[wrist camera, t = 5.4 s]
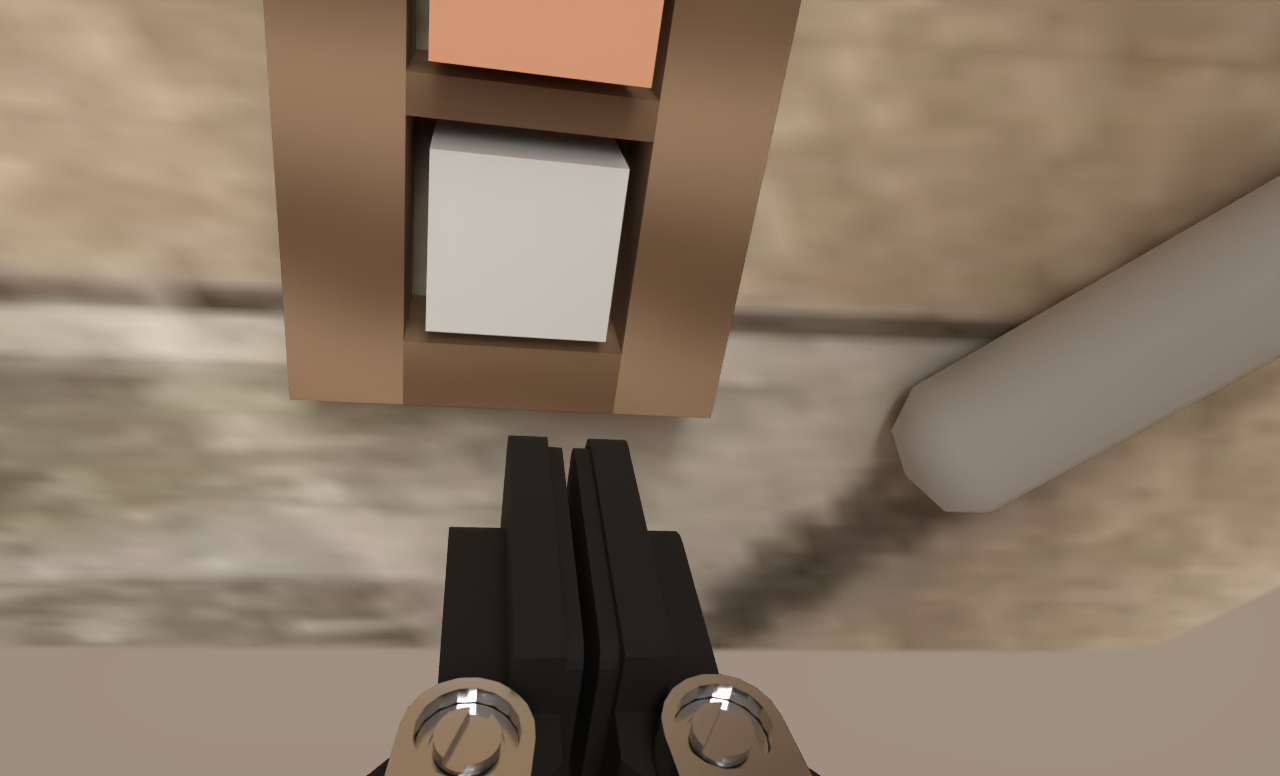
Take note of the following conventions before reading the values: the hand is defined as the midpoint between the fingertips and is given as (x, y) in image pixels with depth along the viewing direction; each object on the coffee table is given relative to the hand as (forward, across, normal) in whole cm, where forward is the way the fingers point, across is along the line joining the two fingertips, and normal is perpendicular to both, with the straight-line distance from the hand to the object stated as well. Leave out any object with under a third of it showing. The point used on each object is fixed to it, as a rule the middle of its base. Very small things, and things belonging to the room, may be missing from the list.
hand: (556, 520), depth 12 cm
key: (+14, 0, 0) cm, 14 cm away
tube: (+15, -23, 0) cm, 28 cm away
